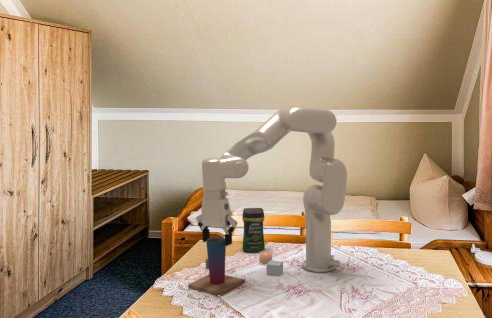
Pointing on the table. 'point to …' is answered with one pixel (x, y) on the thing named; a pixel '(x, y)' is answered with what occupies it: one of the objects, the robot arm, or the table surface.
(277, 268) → the slate block
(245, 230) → the coffee jar
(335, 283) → the table surface
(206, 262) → the taupe block
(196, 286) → the walnut board
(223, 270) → the cup
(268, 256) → the terracotta ball
